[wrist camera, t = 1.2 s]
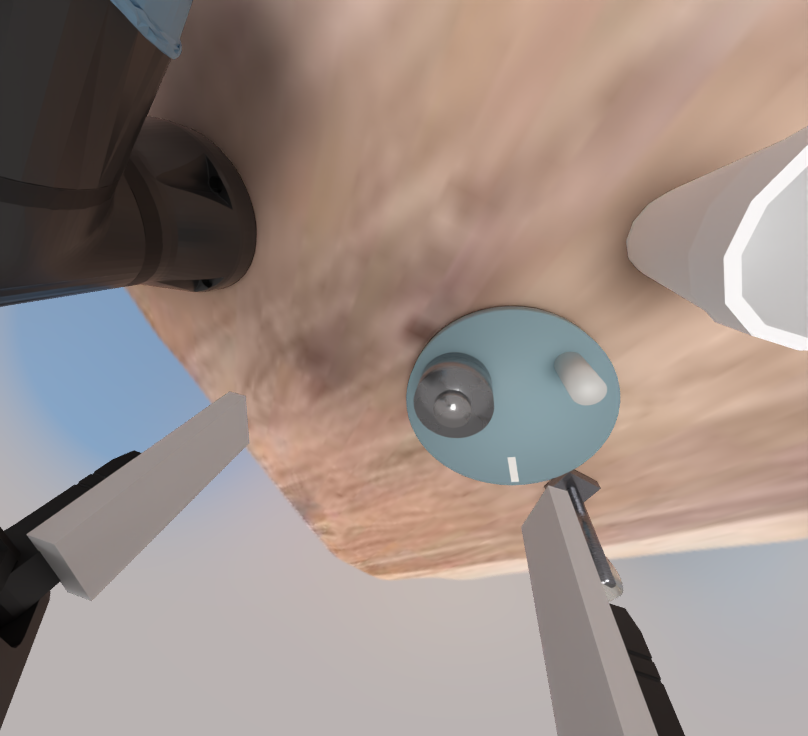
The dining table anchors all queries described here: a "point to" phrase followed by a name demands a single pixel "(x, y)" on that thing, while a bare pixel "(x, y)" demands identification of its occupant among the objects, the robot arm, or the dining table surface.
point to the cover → (454, 396)
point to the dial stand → (589, 527)
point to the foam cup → (736, 242)
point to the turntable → (525, 396)
